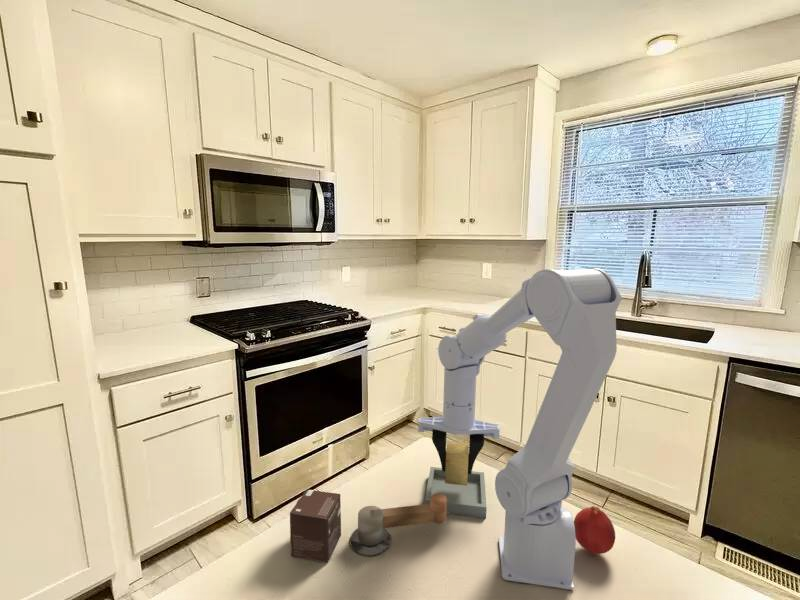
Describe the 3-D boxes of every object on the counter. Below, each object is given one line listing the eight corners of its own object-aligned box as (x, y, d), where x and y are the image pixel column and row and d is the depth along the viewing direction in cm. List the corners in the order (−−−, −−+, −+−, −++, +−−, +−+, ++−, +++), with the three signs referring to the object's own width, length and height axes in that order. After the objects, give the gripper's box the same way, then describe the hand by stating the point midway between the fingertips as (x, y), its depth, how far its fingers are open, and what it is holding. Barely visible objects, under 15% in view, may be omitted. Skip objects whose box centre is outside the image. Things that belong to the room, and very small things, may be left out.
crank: (359, 547, 60) (359, 516, 59) (357, 528, 64) (357, 499, 63) (449, 535, 63) (450, 505, 62) (442, 518, 66) (442, 490, 66)
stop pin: (467, 473, 75) (468, 443, 74) (467, 485, 71) (468, 454, 70) (446, 470, 76) (447, 441, 75) (445, 483, 72) (446, 452, 71)
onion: (576, 533, 65) (579, 488, 63) (615, 549, 61) (620, 502, 60) (567, 555, 60) (571, 507, 59) (609, 574, 57) (614, 524, 55)
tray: (483, 481, 78) (483, 472, 78) (486, 517, 68) (486, 507, 68) (430, 475, 80) (430, 466, 80) (424, 510, 70) (425, 500, 69)
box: (327, 564, 58) (327, 519, 57) (289, 557, 59) (288, 513, 58) (341, 535, 64) (341, 493, 63) (307, 529, 65) (306, 488, 64)
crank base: (394, 529, 65) (394, 526, 65) (386, 559, 59) (386, 556, 59) (356, 524, 66) (356, 521, 66) (345, 553, 60) (345, 550, 60)
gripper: (498, 394, 74) (495, 462, 76) (422, 389, 76) (420, 454, 78) (502, 410, 67) (497, 483, 69) (417, 403, 69) (415, 474, 71)
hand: (456, 469), depth 73 cm, fingers closed on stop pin, 4 cm apart
